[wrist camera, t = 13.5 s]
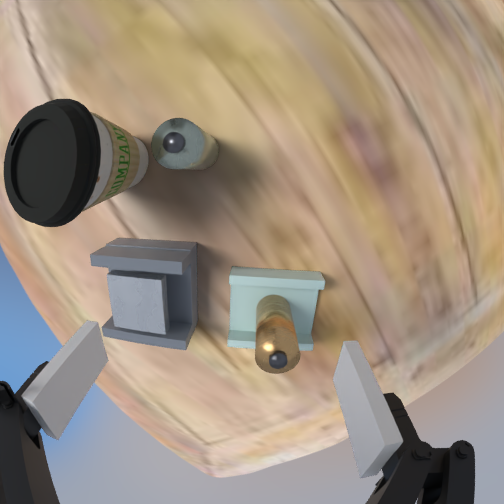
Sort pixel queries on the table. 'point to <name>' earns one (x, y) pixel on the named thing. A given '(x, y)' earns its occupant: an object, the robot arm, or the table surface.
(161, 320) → the plate
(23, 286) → the table surface
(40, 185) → the coffee cup
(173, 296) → the cradle
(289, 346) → the cell
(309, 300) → the trough
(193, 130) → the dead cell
